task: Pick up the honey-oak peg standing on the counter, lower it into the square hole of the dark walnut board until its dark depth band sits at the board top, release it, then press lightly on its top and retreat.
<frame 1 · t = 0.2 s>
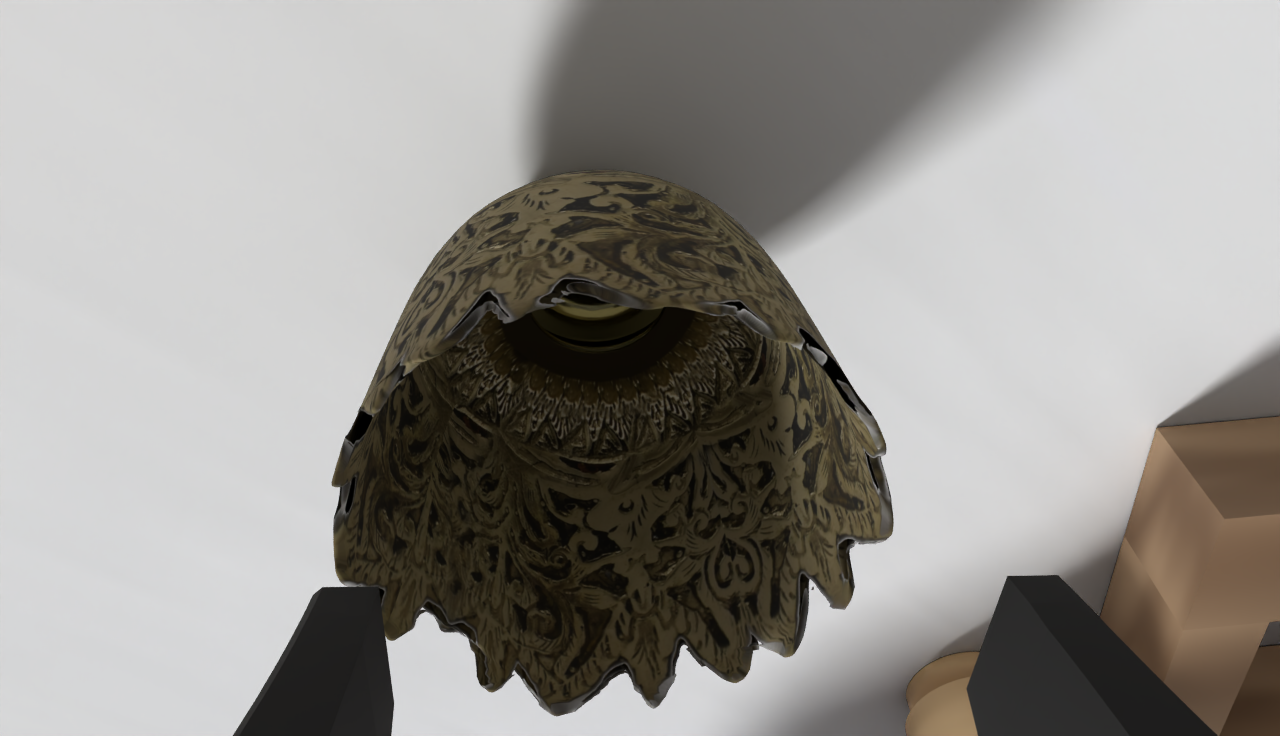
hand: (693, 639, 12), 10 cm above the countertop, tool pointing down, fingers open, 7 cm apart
cup: (593, 242, 20), on the countertop
peg: (959, 686, 29), on the countertop
board: (1271, 587, 28), on the countertop
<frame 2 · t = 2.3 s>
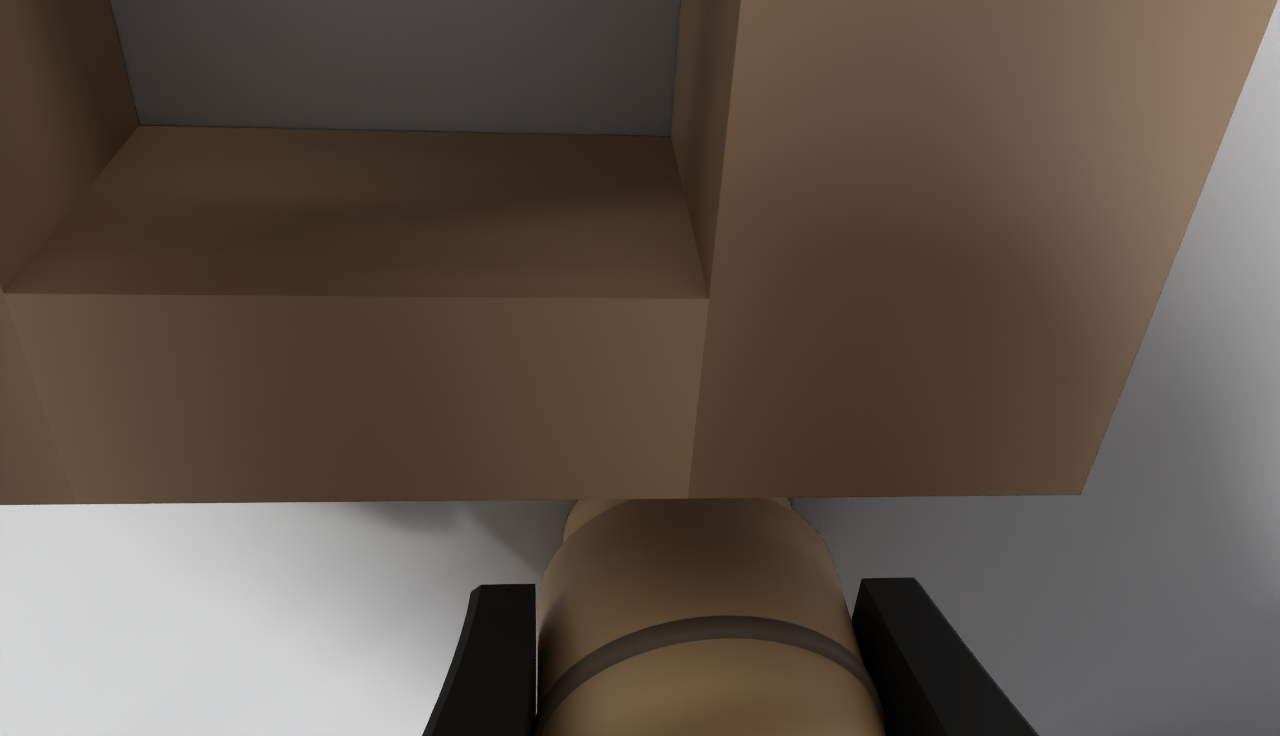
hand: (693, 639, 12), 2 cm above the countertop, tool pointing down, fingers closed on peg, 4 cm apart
peg: (679, 539, 13), on the countertop, touching gripper
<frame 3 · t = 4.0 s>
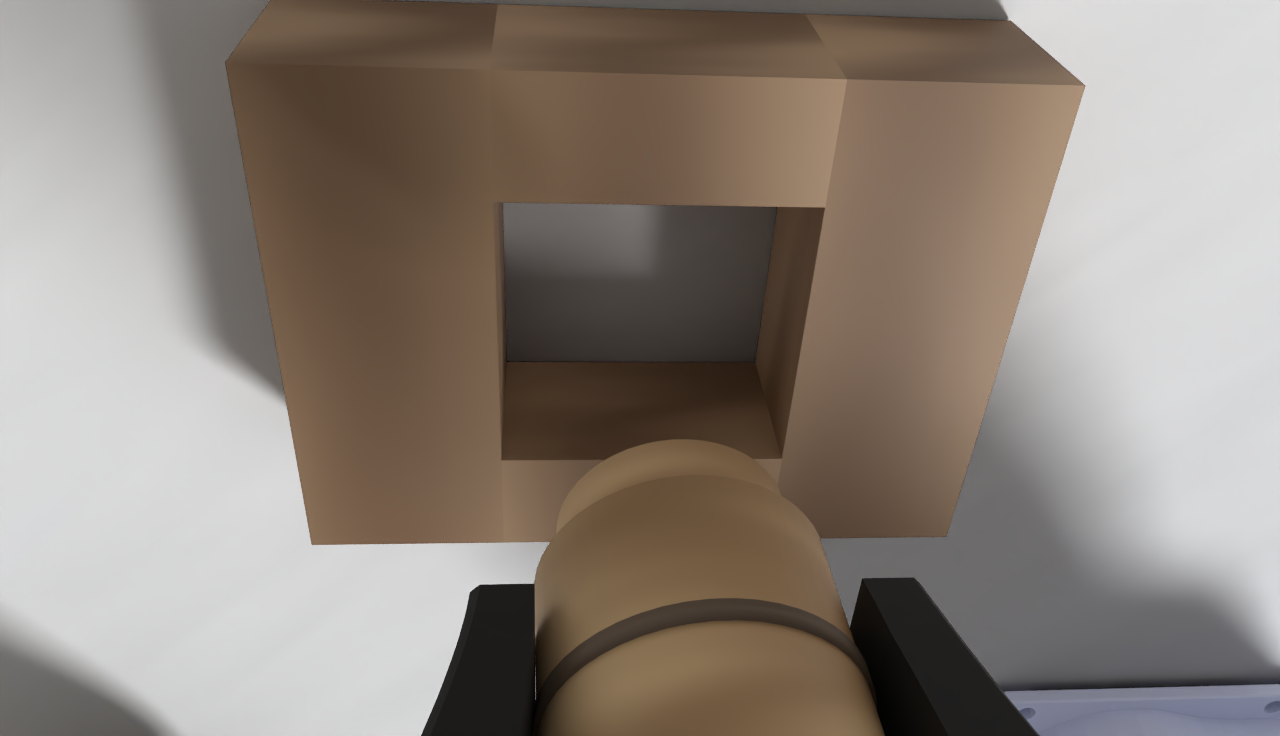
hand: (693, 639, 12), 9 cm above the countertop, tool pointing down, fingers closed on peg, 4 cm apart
peg: (671, 527, 14), point 7 cm above the countertop, touching gripper
board: (638, 252, 20), on the countertop
when the fingers open (3 cm above the countertop, at t = 5.6 s): peg drops 2 cm, resting in board.
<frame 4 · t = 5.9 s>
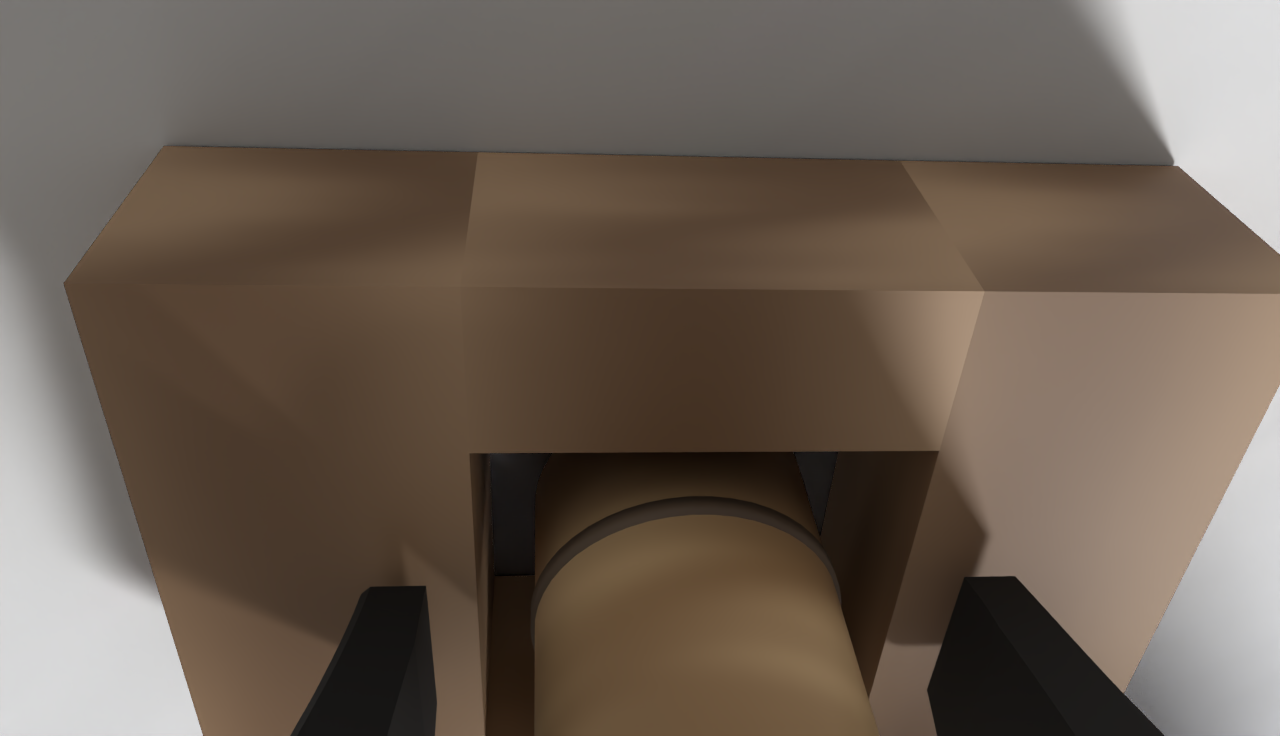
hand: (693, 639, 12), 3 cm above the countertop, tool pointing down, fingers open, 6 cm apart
peg: (661, 452, 15), resting in board
board: (666, 450, 15), on the countertop
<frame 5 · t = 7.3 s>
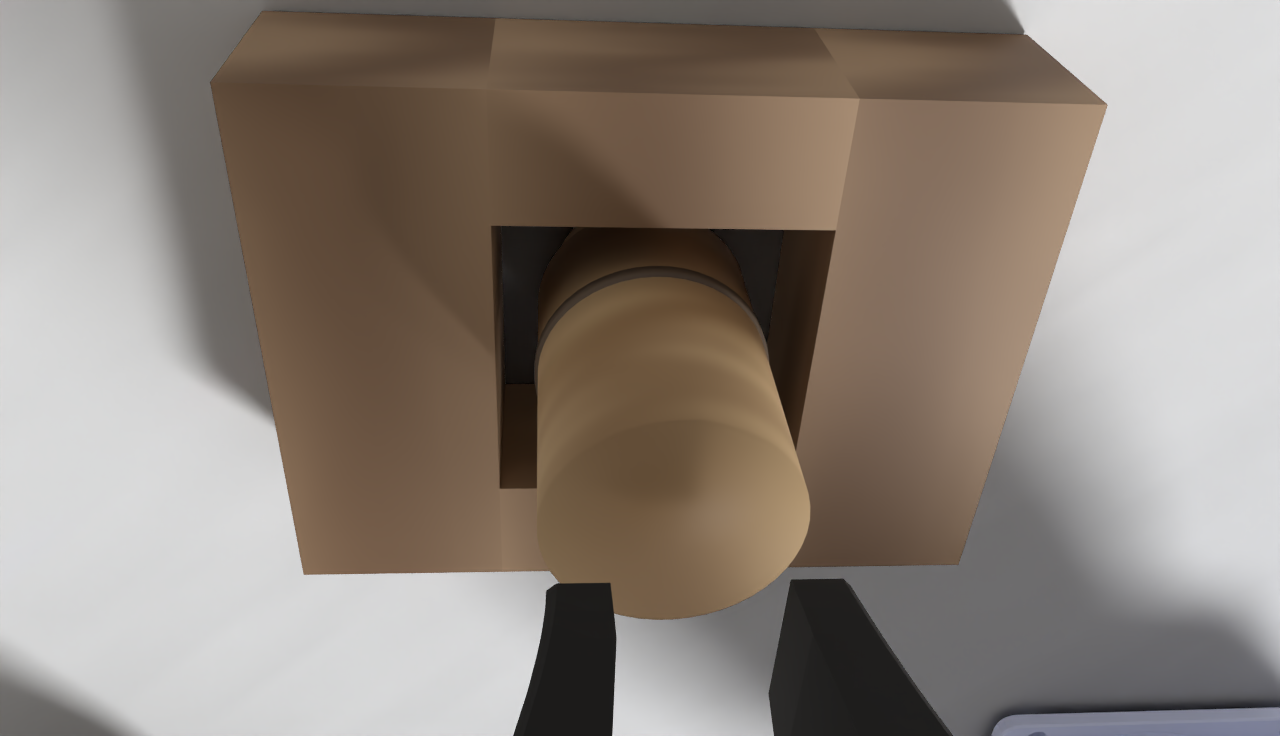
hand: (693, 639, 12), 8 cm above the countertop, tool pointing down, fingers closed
peg: (637, 274, 19), resting in board
board: (641, 272, 19), on the countertop
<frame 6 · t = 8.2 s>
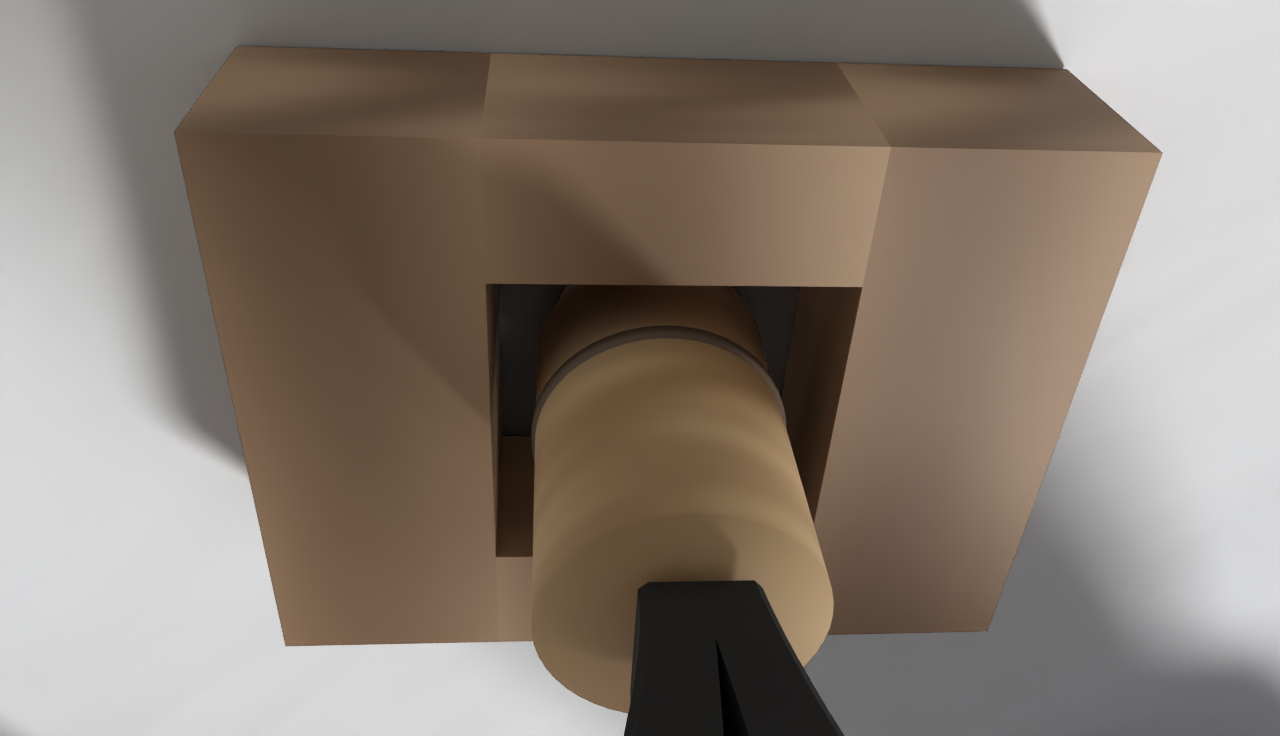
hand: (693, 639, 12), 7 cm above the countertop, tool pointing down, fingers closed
peg: (644, 322, 18), resting in board
board: (648, 320, 18), on the countertop
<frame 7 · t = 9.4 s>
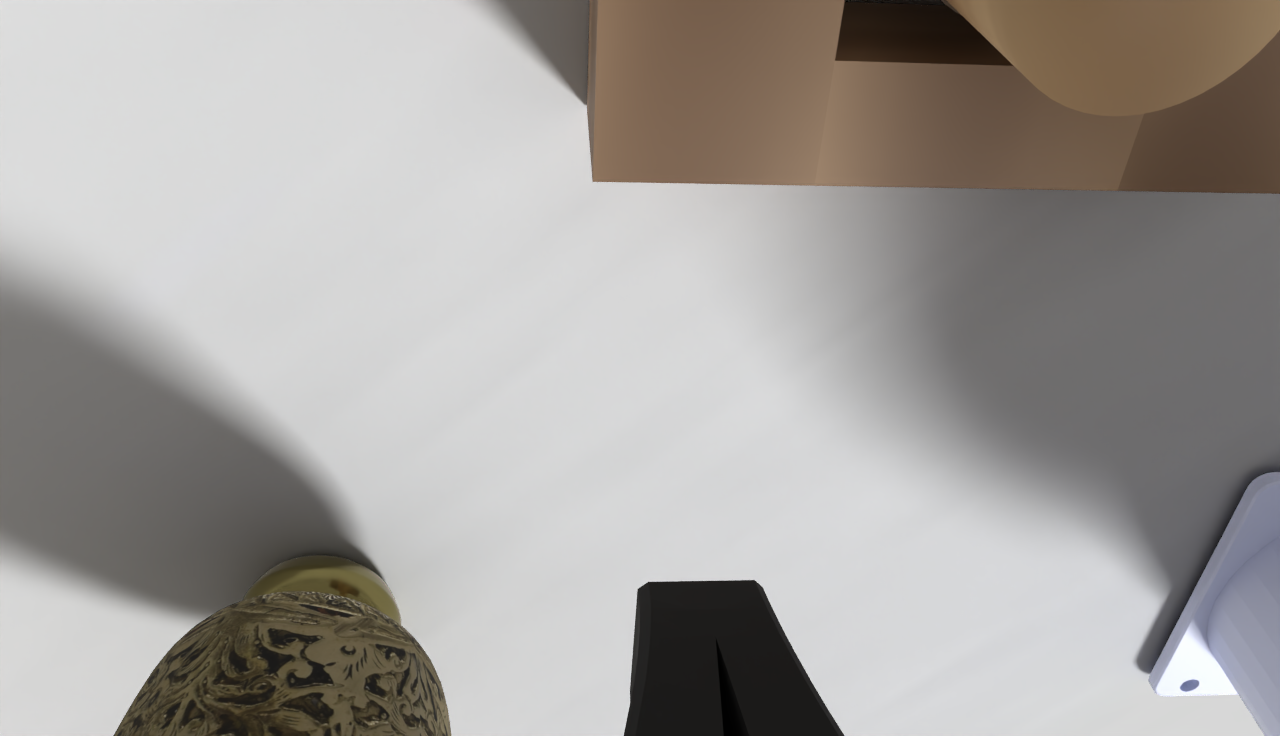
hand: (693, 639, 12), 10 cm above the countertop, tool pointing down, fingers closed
cup: (328, 589, 26), on the countertop
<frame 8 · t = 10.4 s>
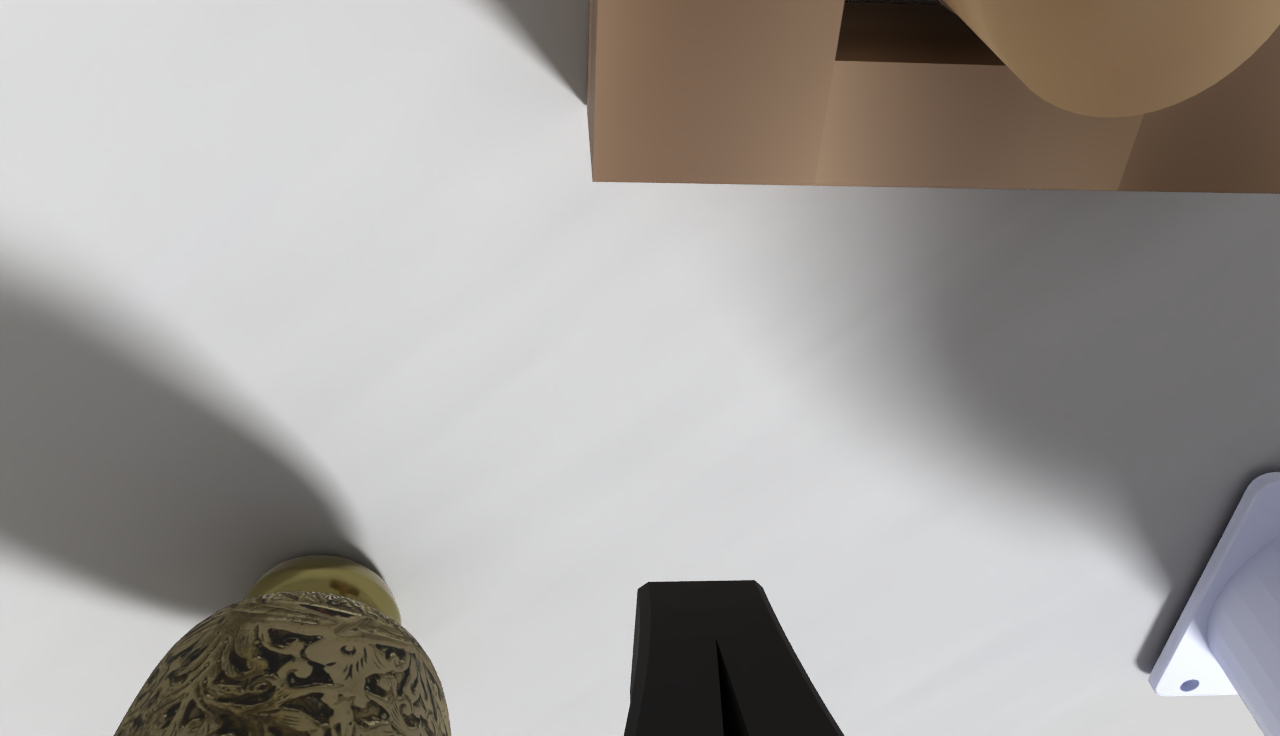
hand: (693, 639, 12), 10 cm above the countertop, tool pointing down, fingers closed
cup: (328, 589, 26), on the countertop
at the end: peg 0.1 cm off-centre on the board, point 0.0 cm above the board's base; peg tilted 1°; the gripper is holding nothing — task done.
